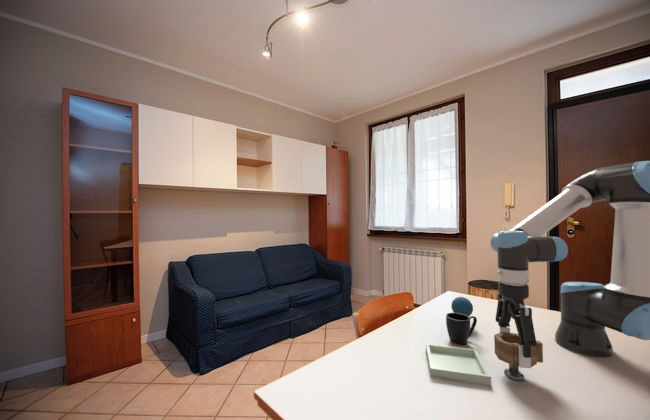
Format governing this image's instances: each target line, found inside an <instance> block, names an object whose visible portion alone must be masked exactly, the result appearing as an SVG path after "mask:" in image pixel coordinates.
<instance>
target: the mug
mask: <svg viewBox="0 0 650 420" xmlns="http://www.w3.org/2000/svg"><path fill="white" fill-rule="evenodd" d="M471 319H473V321H472V324H471ZM477 321H478V320H477V317H476V316H474V315H470V316H467V315H464V314H460V313H454V312H449V313H448V312H447V313H446V315H445V323H446V324H445V325H446V330H447V334H448V337H449V341H450V343H452V344H454V345H458V346H466V345H467V342H468V341H469V340H468V339H469V338H470V337H471V335H472V333H473V331H474V329H475V327H476V326H477Z"/></svg>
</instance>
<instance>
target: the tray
mask: <svg viewBox="0 0 650 420" xmlns="http://www.w3.org/2000/svg"><path fill="white" fill-rule="evenodd" d="M425 353H426V359H427V364H428V370H429V376H430V378H436V379H443V380H449V381H457V382H461V383H462V382H463V383H470V384H477V385H485V386H490V387H491V386H492V376H491V374H490V373H489V370H488V369H487V366H486V365H485V363H484V361H483V360H482V358H481V355H480V354H479V352H478V351H477V348H467V347H459V346H452V345H443V344H442V345H441V344H435V343H434V344H433V343H425Z"/></svg>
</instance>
